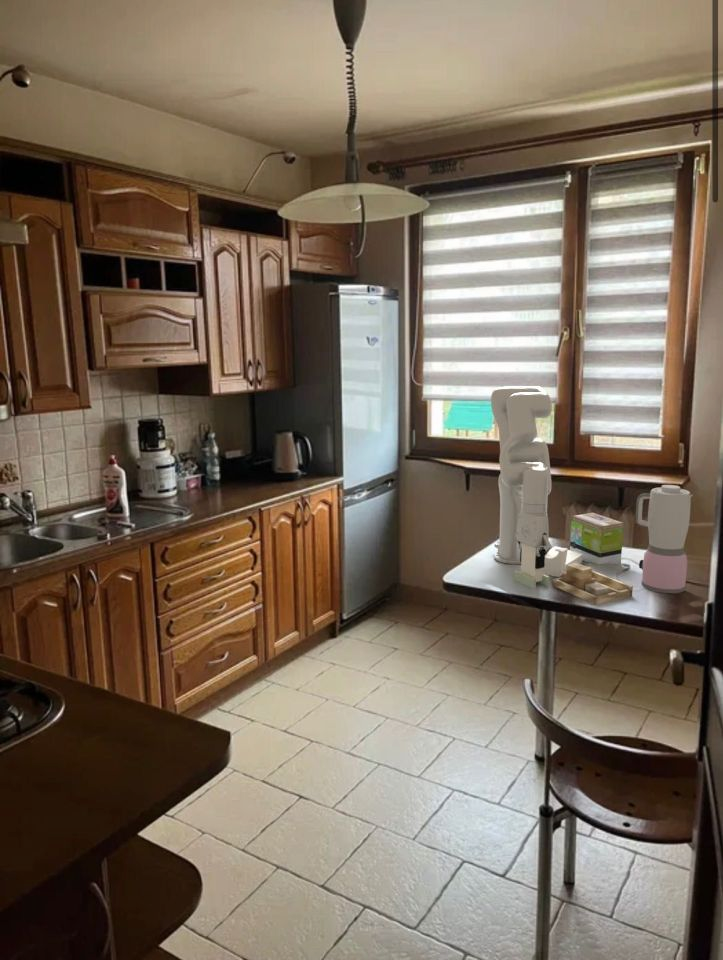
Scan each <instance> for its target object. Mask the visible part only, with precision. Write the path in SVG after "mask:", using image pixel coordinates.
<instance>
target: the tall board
mask: <svg viewBox="0 0 723 960" xmlns="http://www.w3.org/2000/svg"><path fill="white" fill-rule="evenodd" d="M542 544H543V542H542V543H541V545H542ZM539 549H540V551H541V550H542V547H540V548H539ZM536 556H537V553H536V548H534V547H531V546H528V545H526V544H523V543H522V555H521V564H520V572H521V573H523V574H526V575H528V576H530V577H532V578H534V579H536V583H539V581H542V571H543V568H539V569H536V568H535V557H536Z"/></svg>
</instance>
